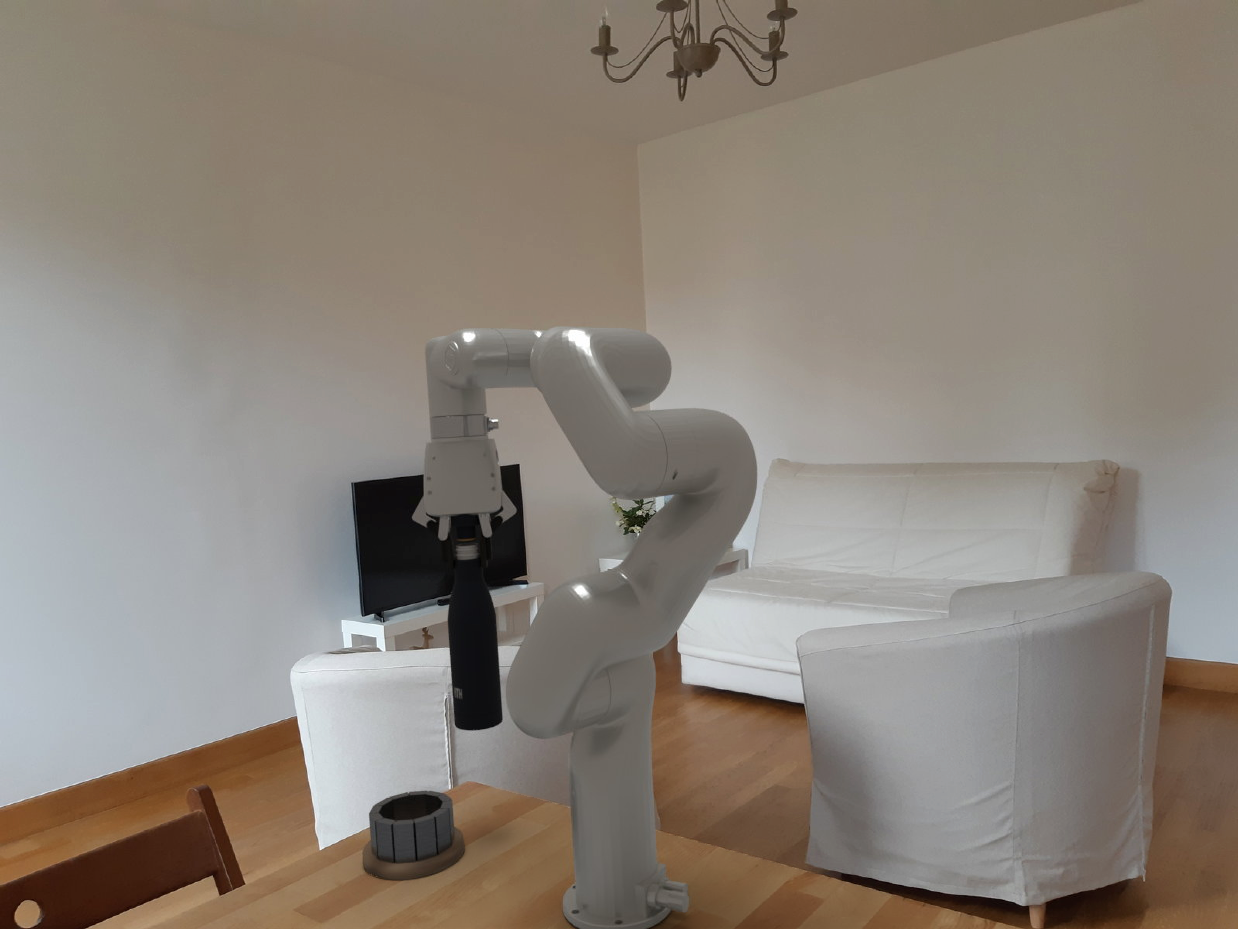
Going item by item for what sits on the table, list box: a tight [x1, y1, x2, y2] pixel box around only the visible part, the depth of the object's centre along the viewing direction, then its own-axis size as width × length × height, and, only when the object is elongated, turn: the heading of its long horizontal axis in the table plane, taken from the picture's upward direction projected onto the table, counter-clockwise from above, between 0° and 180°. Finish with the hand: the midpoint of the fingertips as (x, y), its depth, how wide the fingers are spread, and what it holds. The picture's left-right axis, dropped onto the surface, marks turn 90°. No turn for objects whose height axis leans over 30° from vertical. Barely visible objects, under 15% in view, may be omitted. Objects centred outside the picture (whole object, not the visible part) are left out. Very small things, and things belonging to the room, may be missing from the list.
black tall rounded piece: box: [447, 514, 504, 732], centre depth 125 cm, size 6×6×30 cm
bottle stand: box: [361, 790, 465, 881], centre depth 122 cm, size 13×13×6 cm
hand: (468, 566), depth 124 cm, fingers closed on black tall rounded piece, 3 cm apart
